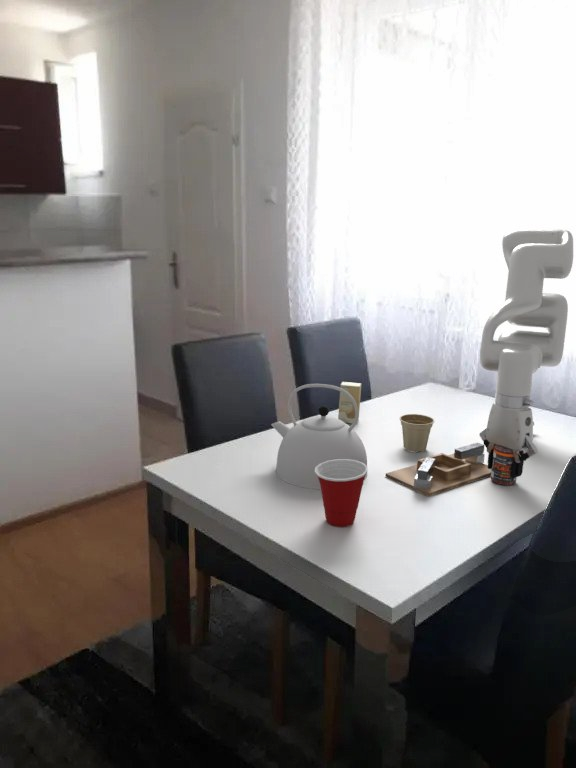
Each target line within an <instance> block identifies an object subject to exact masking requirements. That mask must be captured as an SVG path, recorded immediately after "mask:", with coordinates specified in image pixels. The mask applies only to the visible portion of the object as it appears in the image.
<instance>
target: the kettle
mask: <svg viewBox="0 0 576 768" xmlns="http://www.w3.org/2000/svg"><path fill="white" fill-rule="evenodd" d="M307 388H326V389H331V390H336V391H338V392H339V393H340V392H342V393H344V394H345V395H346V396H348V397H349V398H350V400H351V401H352V403H353V405H354V408H355V420H354V422H353V423H351V425H349V424H347V423H345V422H343V421H341V420H339V419H338V417H337V418H336V417H333V416H328V415H329V413H330V409H329V407H328V406H327V405H320V406H319V407H318V411H317V412H318V414H319V416H318V415H317V416H310V417H307V418H305V419H303V420H302V421H300V422H298V423H297V422H296V420H295V417H294V415H293V412H292V400H293V397H294V396H295V395H296V394H297V393H298V392H299V391H301V390H303V389H307ZM287 412H288V415H289V418H290V420H291V422H292V424H293V426H292V427H290V426H287V425H286V424H285V423H283V422H282V421H280V420H278V421H275V422H273V423H271V426H272V428H273V429H275V431H277V433H278V434H279V435H280V437H282V440H281V442H280V445H279V447H278V450H277V458H276V470H275V473H276V475H277V477H279V479H281V480H282V481H284V482H285V483H288V484H290V485H293V486H295V487H299V488H304V489H310V490H320V491H321V486H320V482H319V479H318V476H317V474H316V473H315V467H316V466H318V465H319V464H320V463H323V462H326V461H330V460H336V459H349V460H356V461H359V462H362V463H364V464H365V465H366V466H367V467H368V457H367V455H368V454H367V452H366V447H365V446H364V443H363V441H362V439H361V437H360V436H359V434H358V433H357V432H356V430H354V428H355V426H356V425H357V424H358V423H357V421H358V416H359V417H360V411H359V412H358V407H357V404H356V401H355V400H354V398H353V397H352V396H351V395H350V394H349V393H348V392H347V391H345V390H344V389H342V388H340V387H339V386H336V385H333V384H326V383H307V384H304V385H301V386H297V388H295V389H294V390H293V391H292V392H291V393H290V395H289V397H288V401H287ZM358 422H359V421H358ZM356 423H357V424H356ZM367 477H368V472H367V473H366V475H365V478H364V481H365V480H366V479H367Z"/></svg>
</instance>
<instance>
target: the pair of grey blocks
mask: <svg viewBox="0 0 576 768" xmlns="http://www.w3.org/2000/svg"><path fill="white" fill-rule="evenodd" d="M453 454H454V457H455V458H457V459H460V460H462V459H465V461H467V462H469V463H472V464H474V465H479V464H482V463H483V464H485V445H484V443H483V444H482V443H481V442H474V443H471V444H467V445H464V446H461V447H460V446H459V447H457V448H454V452H453ZM427 457H428V456H426V457H425V458H426V459H425V460H424V462H423V463H422V465H421V466H420V468H419V469H418V474H417V475H416V476H415V478H414V488H417V489H422V490H428V491H429V490H430V488H431V487H432V477H433V476H430V474H431V473H432V471H433V470H434V468H435V459H433V458H427Z"/></svg>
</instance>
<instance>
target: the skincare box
mask: <svg viewBox="0 0 576 768" xmlns="http://www.w3.org/2000/svg"><path fill="white" fill-rule="evenodd" d="M339 388H342V389H344V390H345V391H347V392H348V393H349V394H350V395H351V396H352V397H353V398H354V400H355V401H356V404H357V407H358V412H359V413H360V410H361V409H360V408H361V407H360V405H361V395H362V394H361V393H362V383H360V382H359V383H358V382H350V381H349V382H348V381H341V383H340V387H339ZM337 419H339V420H341V421H343V422H344V423H346V424H347V423H348V424H353V422H354V420H355V408H354V405H353V403H352V401H351V400H350V398H349V397H348V396H346V395H345V394H344V393H342V392H340V391H339V401H338V415H337ZM359 420H360V415H359V416H358V421H357V423H356V425H358V423H359Z"/></svg>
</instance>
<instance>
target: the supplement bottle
mask: <svg viewBox="0 0 576 768" xmlns="http://www.w3.org/2000/svg"><path fill="white" fill-rule="evenodd" d="M519 454H520V453H519ZM513 462H515V458H514V453H513V450H511V449H508V448H506V447H504V446H501V445H495V446H494V452H493V461H492V469H491V476H490V480H491V481H492V482H493V483H495V484H497V485H500V486H512V485H514V484H516V483H517V478H518V477H516V478H512V477H511V472H512V463H513Z"/></svg>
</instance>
